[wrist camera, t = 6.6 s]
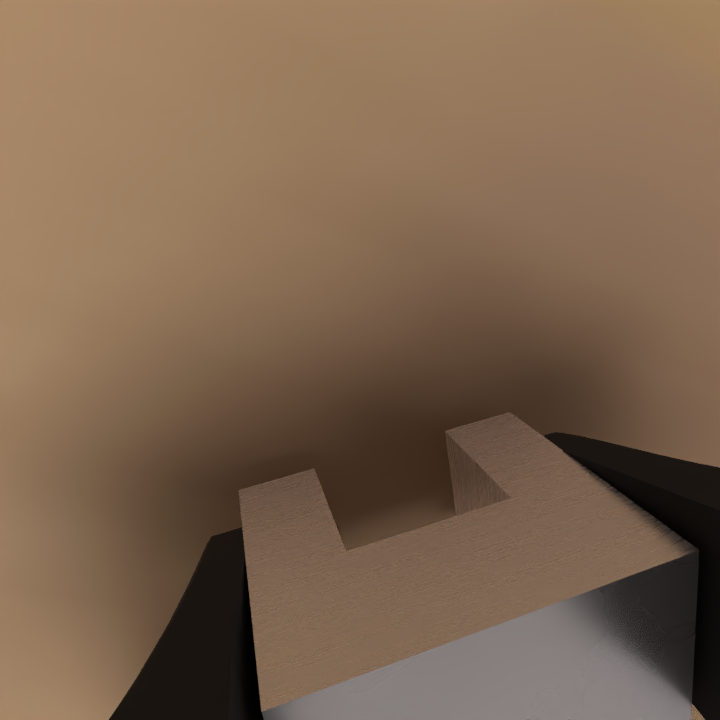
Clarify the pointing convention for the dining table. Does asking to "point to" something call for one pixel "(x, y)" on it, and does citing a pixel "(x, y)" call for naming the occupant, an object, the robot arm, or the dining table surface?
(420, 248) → the dining table surface
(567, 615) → the notched block
